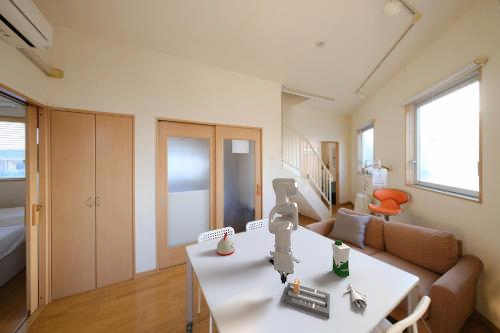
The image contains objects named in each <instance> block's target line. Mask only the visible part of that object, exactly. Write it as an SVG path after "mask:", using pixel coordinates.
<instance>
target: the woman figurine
mask: <svg viewBox="0 0 500 333" xmlns="http://www.w3.org/2000/svg"><path fill="white" fill-rule="evenodd" d="M347 285H348V286H347V288H348V289H347V290H346V291H343V293H342V294H343V295H345V294H346V293H349V292H350V293H351V300H352V301H351V302H352V304H353V306H354V307H355V306H356V307H358V309H361V308H360V307H362V308H363V309H366V308H367V306H368V304H367V302H366V300H365V299H363V297H365V298H368V296H367V295H366V294H364V293H362V292H360V291H358V290H356V289H355V288H354V287H353V285H352V284H351V283H348V284H347ZM361 295H362V296H363V297H362V296H361ZM358 302H359V303H358Z"/></svg>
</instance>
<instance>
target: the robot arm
mask: <svg viewBox="0 0 500 333" xmlns="http://www.w3.org/2000/svg"><path fill="white" fill-rule="evenodd" d="M271 186H272V188H273V191H274V195H275V205H274V206H273V207H272V208H271V210H270V211H269V214H268V222H267V223H268V231H269V233H270V234H272V235H274V251H272V250H270V251H269V254H270V256H273V257H272V260H273V270H274V271H277V272H278V274H279V275H280V281H281V284H284V285H285V283H288V281H287V280H288V276H289V275H294V273H295V272H294V271H295V270H294V267H295V266H294V256H293V255H294V254H293V251H292V234H293V232H294V231H295V232H296V231H298V228H299V207H298V204H297V202H294V201H290V196H297V195H298V193H299V185H298V182H297V179H296V178H293V177H290V178H288V177H277V178H276V177H275V178H273V179H272V181H271ZM276 214H278V215H283V216H276V217H274V216H275V215H276Z"/></svg>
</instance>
